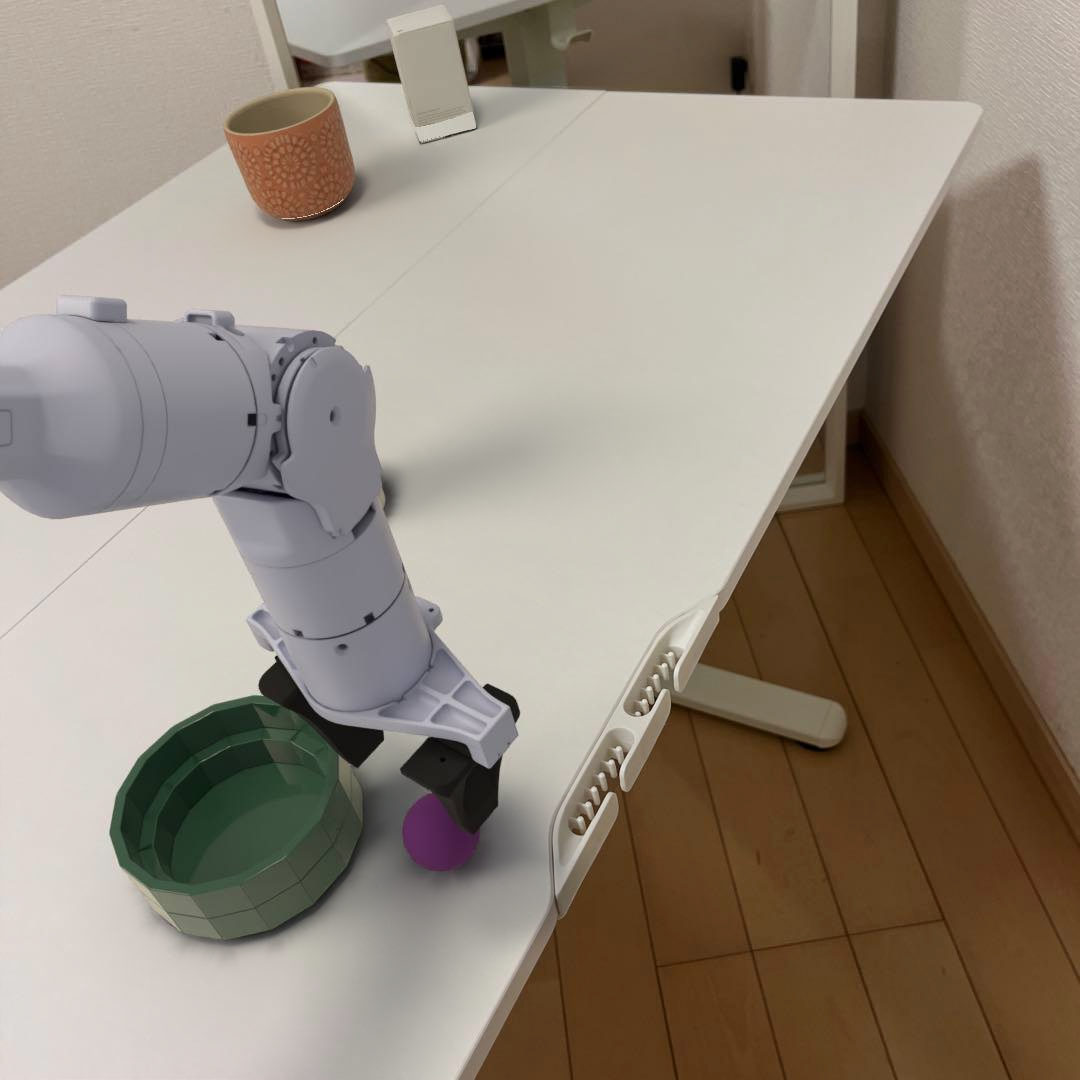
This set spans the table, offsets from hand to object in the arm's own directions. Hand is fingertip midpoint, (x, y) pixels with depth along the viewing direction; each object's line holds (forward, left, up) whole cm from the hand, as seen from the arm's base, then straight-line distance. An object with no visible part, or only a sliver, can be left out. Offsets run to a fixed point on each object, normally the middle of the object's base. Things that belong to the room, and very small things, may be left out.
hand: (421, 783), depth 54 cm
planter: (+55, +68, -6) cm, 88 cm away
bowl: (-5, +10, -6) cm, 13 cm away
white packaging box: (+77, +66, -6) cm, 102 cm away
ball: (0, 0, -4) cm, 4 cm away
